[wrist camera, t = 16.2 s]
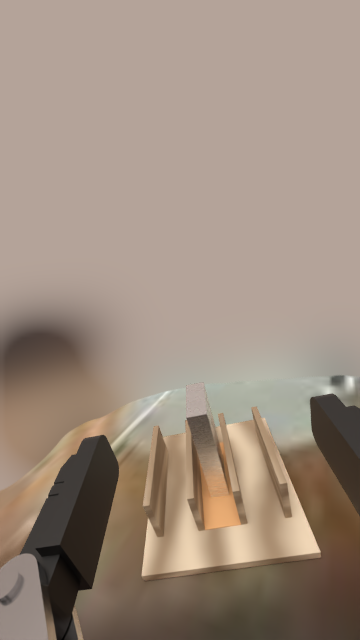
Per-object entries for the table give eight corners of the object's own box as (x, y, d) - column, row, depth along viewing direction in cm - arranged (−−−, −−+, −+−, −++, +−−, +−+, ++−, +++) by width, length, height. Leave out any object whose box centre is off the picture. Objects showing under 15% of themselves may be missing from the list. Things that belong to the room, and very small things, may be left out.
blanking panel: (211, 497, 34) (186, 417, 29) (207, 457, 39) (186, 385, 34) (229, 494, 33) (207, 414, 28) (222, 455, 39) (203, 381, 34)
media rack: (144, 581, 28) (123, 544, 26) (158, 442, 46) (147, 412, 43) (321, 557, 26) (317, 516, 24) (265, 422, 44) (259, 390, 41)
